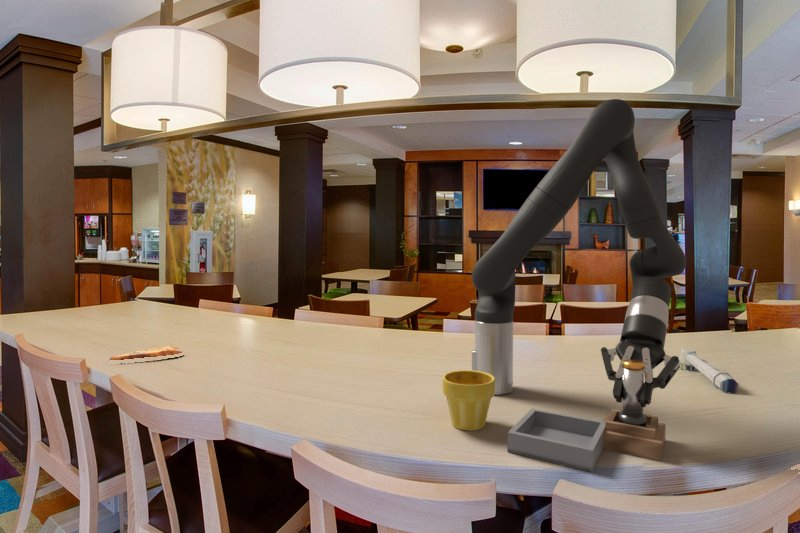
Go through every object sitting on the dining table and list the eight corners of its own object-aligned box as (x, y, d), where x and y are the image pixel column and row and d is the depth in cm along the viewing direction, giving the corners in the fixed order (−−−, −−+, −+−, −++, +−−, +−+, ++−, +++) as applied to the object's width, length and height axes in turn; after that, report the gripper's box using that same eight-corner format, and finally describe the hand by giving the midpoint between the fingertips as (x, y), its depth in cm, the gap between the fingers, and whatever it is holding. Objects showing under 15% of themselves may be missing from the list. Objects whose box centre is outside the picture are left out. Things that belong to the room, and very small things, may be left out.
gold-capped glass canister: (617, 428, 86) (618, 362, 85) (620, 421, 89) (621, 357, 89) (644, 434, 83) (646, 366, 83) (647, 425, 87) (648, 360, 86)
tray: (507, 452, 84) (507, 432, 83) (531, 425, 95) (531, 408, 95) (592, 472, 76) (592, 450, 76) (607, 440, 88) (607, 422, 88)
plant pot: (489, 438, 89) (489, 386, 89) (436, 430, 93) (436, 381, 93) (498, 419, 99) (499, 372, 99) (450, 412, 103) (450, 367, 102)
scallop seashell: (101, 365, 146) (100, 353, 146) (147, 352, 164) (146, 341, 163) (149, 369, 141) (148, 356, 141) (191, 355, 159) (190, 344, 159)
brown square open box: (597, 447, 85) (597, 422, 85) (606, 428, 93) (607, 406, 93) (661, 461, 80) (661, 434, 79) (665, 439, 88) (665, 415, 88)
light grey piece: (719, 377, 114) (674, 341, 139) (716, 403, 116) (672, 363, 140) (742, 378, 114) (693, 342, 138) (739, 404, 115) (691, 364, 139)
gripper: (603, 309, 96) (585, 384, 86) (685, 315, 87) (674, 399, 78) (610, 331, 100) (592, 405, 91) (688, 339, 91) (678, 421, 82)
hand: (630, 402), depth 85 cm, fingers closed on gold-capped glass canister, 3 cm apart
